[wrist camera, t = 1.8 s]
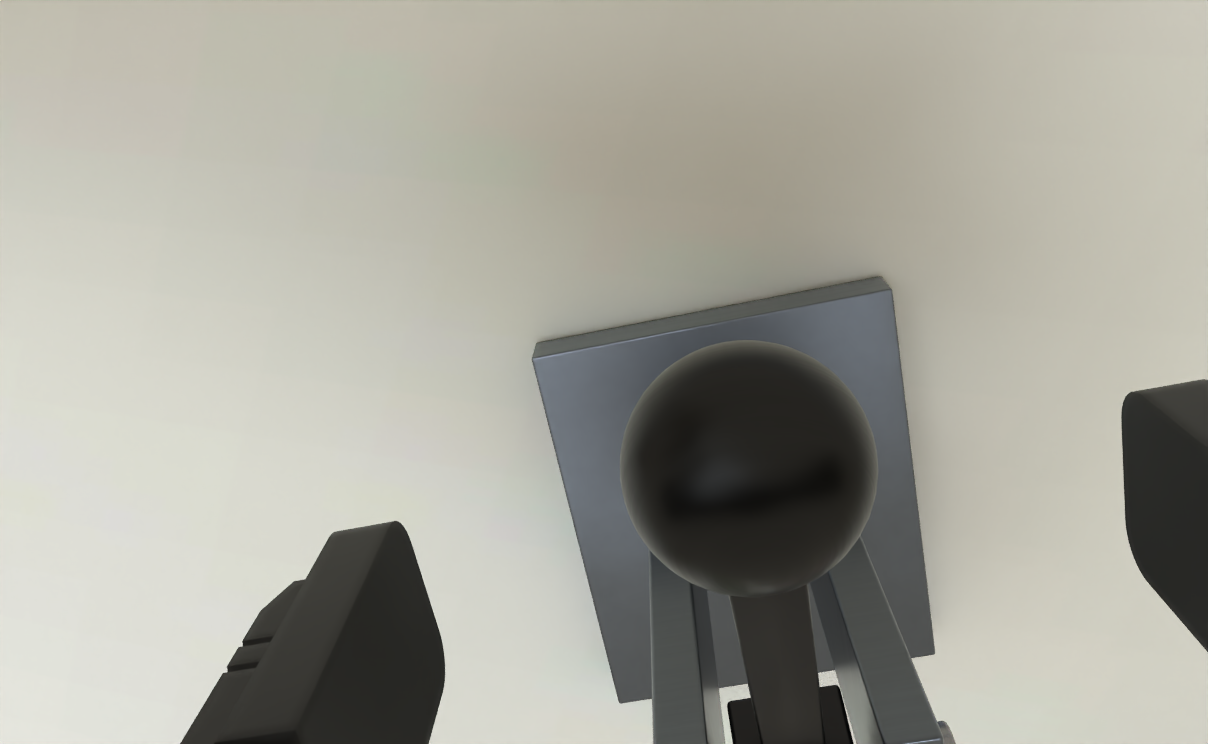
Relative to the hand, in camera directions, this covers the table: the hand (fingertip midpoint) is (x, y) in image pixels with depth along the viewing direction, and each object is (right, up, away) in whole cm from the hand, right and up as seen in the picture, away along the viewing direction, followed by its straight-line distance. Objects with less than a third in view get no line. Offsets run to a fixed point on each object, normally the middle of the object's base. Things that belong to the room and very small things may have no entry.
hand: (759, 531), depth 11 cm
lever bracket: (+2, -2, +20) cm, 20 cm away
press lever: (+1, -2, +6) cm, 6 cm away
